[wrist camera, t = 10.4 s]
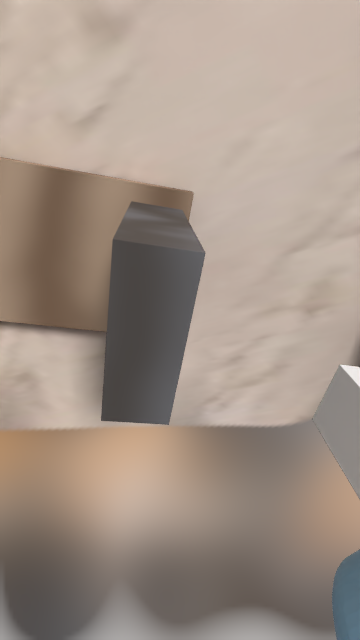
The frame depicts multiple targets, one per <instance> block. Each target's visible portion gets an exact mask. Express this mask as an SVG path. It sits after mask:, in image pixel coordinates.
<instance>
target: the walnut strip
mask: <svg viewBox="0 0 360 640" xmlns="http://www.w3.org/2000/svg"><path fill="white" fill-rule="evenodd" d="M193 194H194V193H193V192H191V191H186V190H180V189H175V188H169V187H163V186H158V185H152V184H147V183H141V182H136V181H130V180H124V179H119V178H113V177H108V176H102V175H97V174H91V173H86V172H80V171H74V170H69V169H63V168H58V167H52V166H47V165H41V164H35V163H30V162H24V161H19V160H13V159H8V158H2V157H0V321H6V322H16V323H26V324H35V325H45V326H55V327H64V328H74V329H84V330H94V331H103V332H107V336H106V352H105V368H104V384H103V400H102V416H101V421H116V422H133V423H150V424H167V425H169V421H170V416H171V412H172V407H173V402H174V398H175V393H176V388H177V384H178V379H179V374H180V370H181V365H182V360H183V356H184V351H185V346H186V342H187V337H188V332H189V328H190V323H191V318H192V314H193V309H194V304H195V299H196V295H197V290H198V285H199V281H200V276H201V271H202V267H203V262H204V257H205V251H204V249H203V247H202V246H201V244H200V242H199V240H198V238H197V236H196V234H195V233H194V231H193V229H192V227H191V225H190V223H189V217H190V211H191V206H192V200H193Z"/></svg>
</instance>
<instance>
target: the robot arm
mask: <svg viewBox="0 0 360 640" xmlns="http://www.w3.org/2000/svg"><path fill="white" fill-rule="evenodd" d="M312 420H313V422H314V423H315V425H316V426H317V428H318V430H319V432H320V433H321V435H322V437H323V438H324V440H325V442H326V443H327V445H328V447H329V449H330V450H331V452H332V453H333V455H334V457H335V459H336V460H337V462H338V464H339V465H340V467H341V469H342V470H343V472H344V474H345V476H346V477H347V479H348V481H349V482H350V484H351V486H352V487H353V489H354V491H355V492H356V494H357V496H358V497H359V499H360V368H359V367H356V366H347V365H339V367H338V369H337V371H336V373H335V375H334V377H333V379H332V381H331V383H330V385H329V387H328V389H327V391H326V393H325V395H324V397H323V398H322V400H321V402H320V404H319V406H318V408H317V410H316V412H315V414H314V416H313V418H312ZM332 593H333V594H332V604H333V616H334V625H335V631H336V637H337V640H360V550H358V551H356V552H355V553H353V554H351V555H350V556H348V557H347V558H345V559H344V560H343V561H342V563H341V564H340V566H339V567H338V569H337V571H336V575H335V578H334V583H333V592H332Z"/></svg>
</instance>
